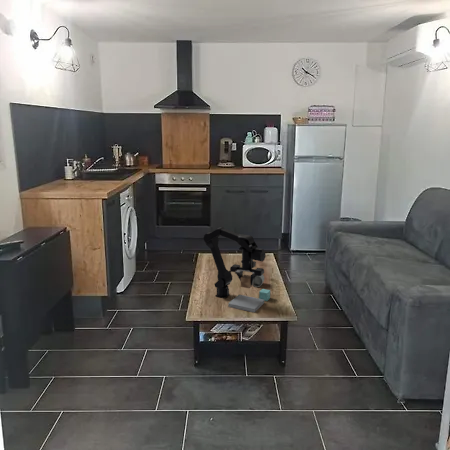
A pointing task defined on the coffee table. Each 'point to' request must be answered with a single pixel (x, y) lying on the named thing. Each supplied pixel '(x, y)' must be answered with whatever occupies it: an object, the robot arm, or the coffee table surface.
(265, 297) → the teal block
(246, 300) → the base plate
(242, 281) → the walnut block
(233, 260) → the coffee table surface
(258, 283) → the ceramic mug
